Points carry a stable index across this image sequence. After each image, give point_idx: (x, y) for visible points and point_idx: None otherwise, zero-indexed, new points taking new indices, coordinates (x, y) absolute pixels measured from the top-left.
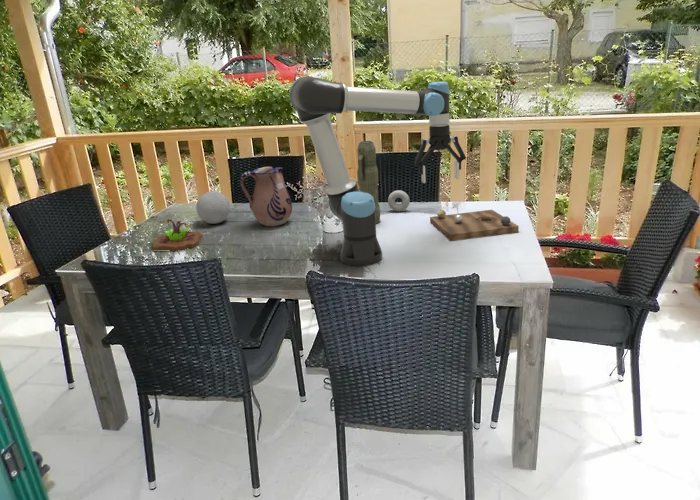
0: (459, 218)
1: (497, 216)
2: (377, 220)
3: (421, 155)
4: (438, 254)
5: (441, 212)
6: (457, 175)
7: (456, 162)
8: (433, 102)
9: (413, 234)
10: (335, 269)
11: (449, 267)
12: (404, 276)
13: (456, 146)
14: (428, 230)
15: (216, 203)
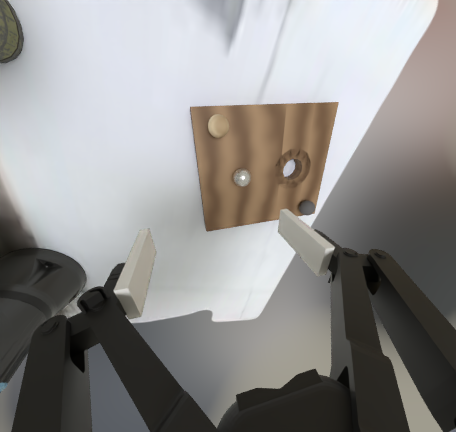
0: (242, 186)
1: (318, 156)
2: (7, 49)
3: (83, 423)
4: (177, 269)
5: (217, 135)
6: (285, 238)
7: (318, 269)
8: None
9: (142, 182)
10: None
11: (183, 300)
12: None
13: (416, 365)
14: (177, 165)
15: None
